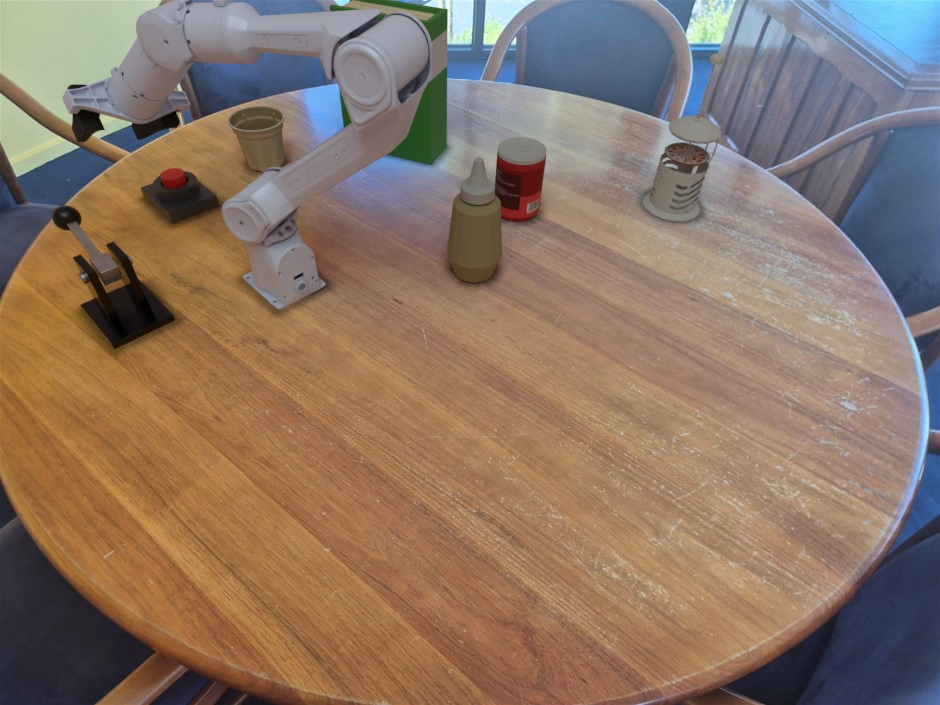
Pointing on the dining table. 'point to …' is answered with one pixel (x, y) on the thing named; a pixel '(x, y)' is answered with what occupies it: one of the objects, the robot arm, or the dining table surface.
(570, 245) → the dining table surface
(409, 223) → the dining table surface
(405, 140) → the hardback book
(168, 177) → the button
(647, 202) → the french press
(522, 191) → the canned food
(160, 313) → the bracket
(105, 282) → the lever
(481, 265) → the squeeze bottle
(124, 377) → the dining table surface
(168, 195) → the button box
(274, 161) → the flower pot
